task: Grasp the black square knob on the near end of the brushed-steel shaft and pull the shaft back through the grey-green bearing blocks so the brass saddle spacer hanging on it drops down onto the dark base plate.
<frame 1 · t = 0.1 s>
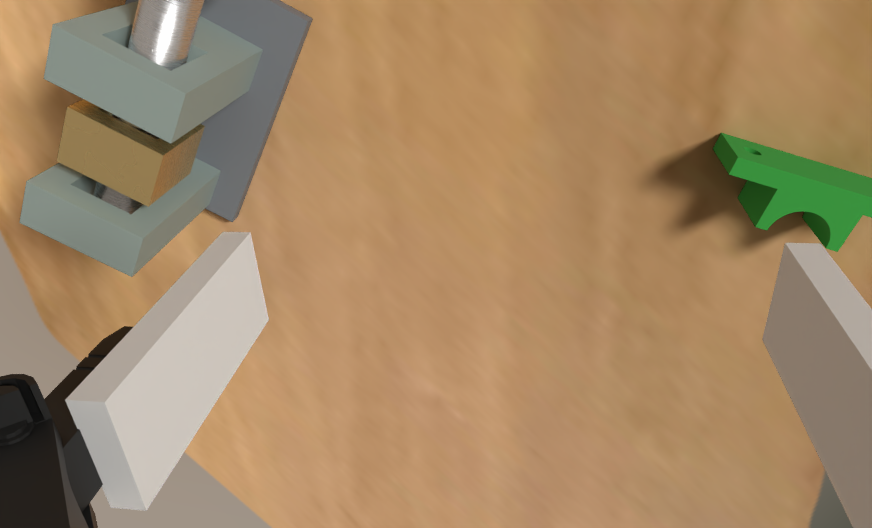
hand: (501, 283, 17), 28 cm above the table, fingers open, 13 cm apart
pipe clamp: (787, 180, 43), on the table
bearing stand: (198, 87, 45), on the table
shaft: (153, 84, 38), point 7 cm above the table, slide at 0.0 cm, touching spacer
spacer: (156, 129, 41), point 5 cm above the table, touching shaft
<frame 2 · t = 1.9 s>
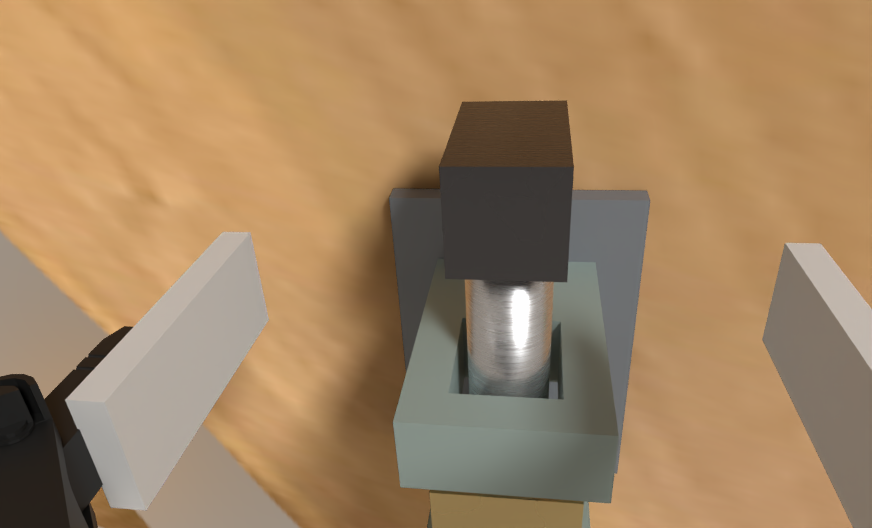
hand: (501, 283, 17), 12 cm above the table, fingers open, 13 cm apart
bearing stand: (515, 337, 33), on the table
shaft: (509, 397, 26), point 7 cm above the table, slide at 0.0 cm, touching spacer
spacer: (510, 431, 29), point 5 cm above the table, touching shaft
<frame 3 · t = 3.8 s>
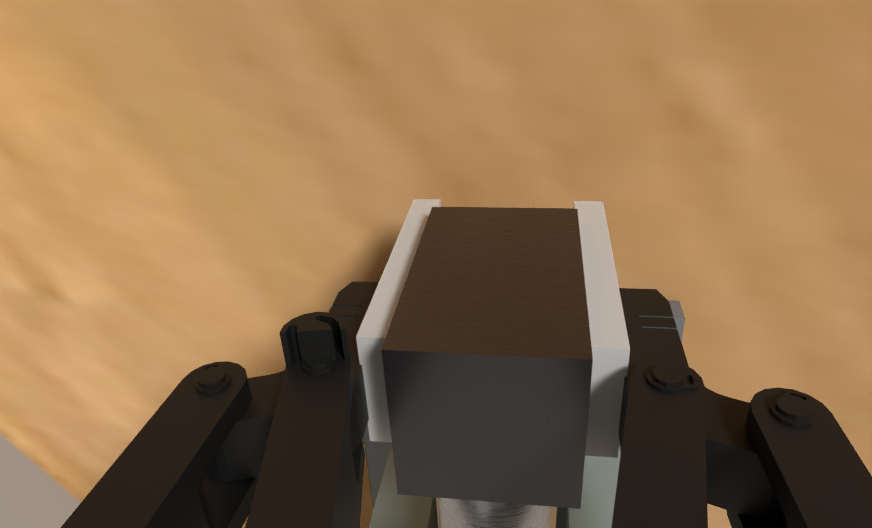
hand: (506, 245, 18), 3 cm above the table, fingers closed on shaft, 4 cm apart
bearing stand: (509, 466, 26), on the table
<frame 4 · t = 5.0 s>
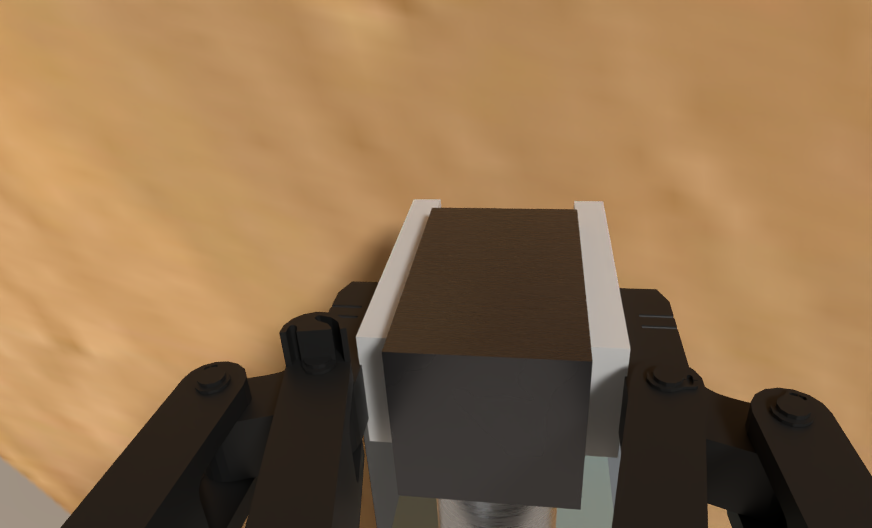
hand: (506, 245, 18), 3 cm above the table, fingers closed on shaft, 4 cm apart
bearing stand: (509, 509, 27), on the table
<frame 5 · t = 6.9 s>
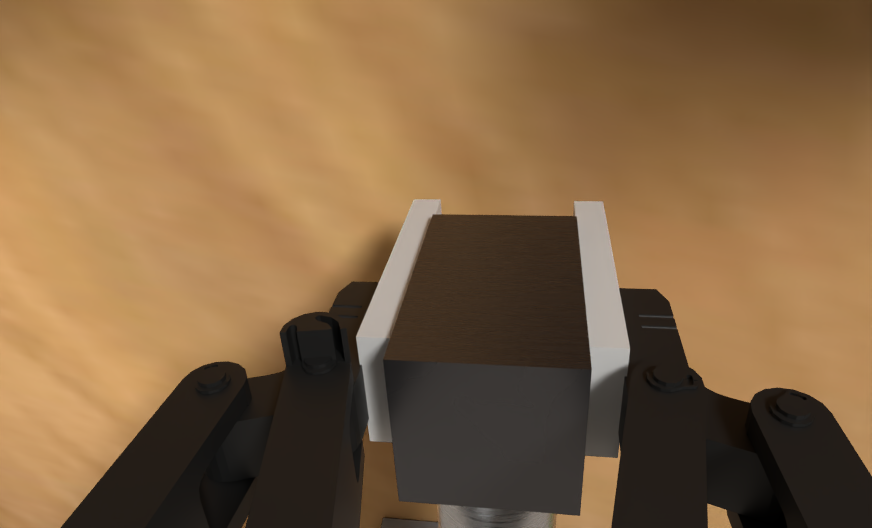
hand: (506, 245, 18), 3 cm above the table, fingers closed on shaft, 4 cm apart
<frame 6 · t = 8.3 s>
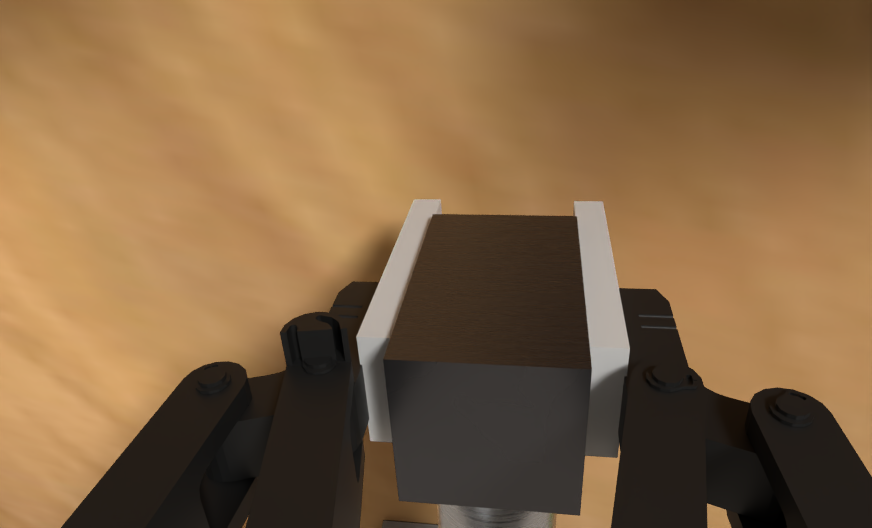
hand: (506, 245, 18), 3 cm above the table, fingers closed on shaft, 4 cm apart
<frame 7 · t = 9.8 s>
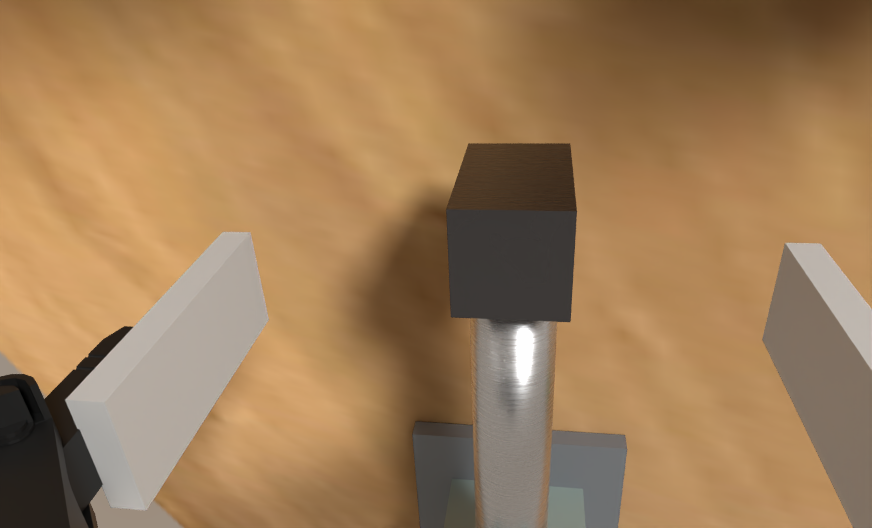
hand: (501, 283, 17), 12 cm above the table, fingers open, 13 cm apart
shaft: (512, 432, 26), point 7 cm above the table, slide at 11.7 cm
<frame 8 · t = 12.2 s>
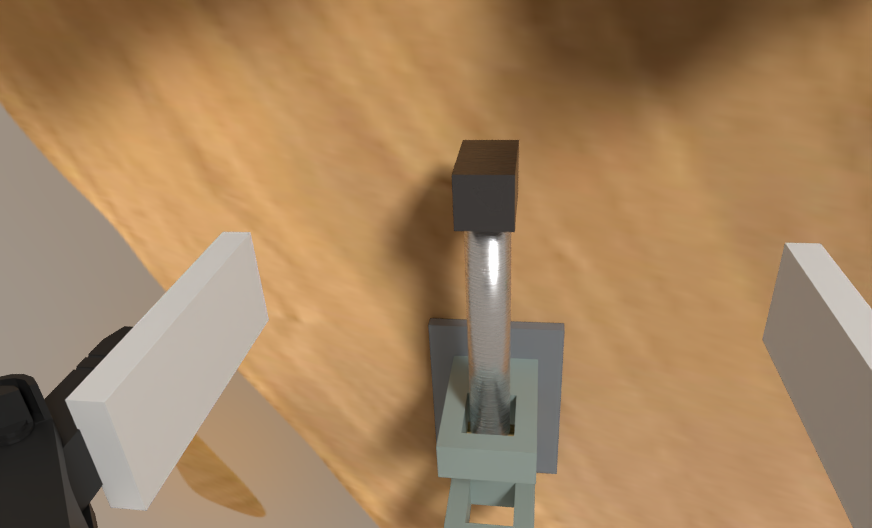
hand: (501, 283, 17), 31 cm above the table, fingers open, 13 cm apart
bearing stand: (496, 395, 58), on the table
shaft: (489, 305, 45), point 7 cm above the table, slide at 11.7 cm
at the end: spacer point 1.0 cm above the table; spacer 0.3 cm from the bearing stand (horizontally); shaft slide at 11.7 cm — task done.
